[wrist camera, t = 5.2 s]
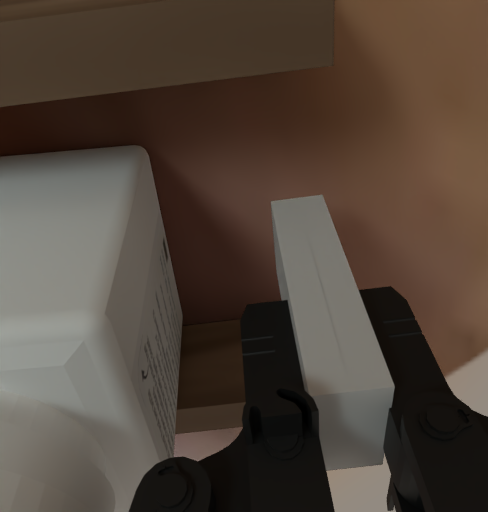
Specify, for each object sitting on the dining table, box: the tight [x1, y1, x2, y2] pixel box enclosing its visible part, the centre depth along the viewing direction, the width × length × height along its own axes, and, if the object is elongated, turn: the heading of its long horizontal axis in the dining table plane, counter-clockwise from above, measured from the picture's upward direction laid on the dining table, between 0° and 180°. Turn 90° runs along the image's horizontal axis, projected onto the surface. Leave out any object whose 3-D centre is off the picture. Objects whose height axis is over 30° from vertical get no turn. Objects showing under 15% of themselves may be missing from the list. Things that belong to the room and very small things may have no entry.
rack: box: [0, 0, 334, 434], centre depth 14 cm, size 14×15×4 cm
